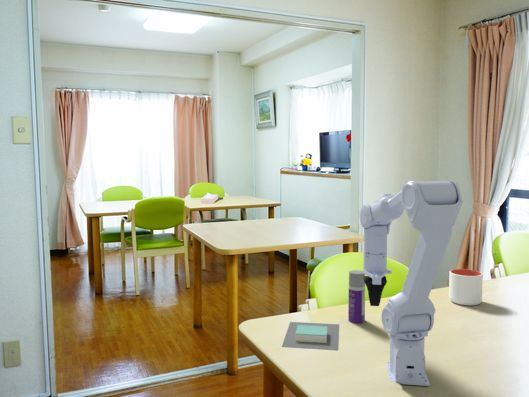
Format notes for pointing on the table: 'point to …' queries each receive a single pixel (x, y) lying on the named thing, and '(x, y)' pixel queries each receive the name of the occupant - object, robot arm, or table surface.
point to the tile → (311, 333)
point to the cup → (465, 287)
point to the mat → (330, 345)
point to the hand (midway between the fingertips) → (374, 305)
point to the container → (356, 297)
